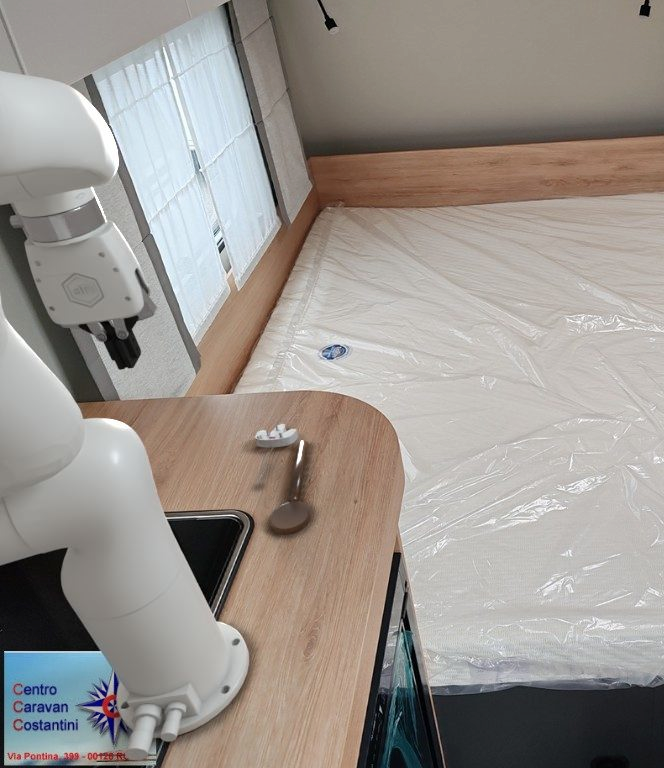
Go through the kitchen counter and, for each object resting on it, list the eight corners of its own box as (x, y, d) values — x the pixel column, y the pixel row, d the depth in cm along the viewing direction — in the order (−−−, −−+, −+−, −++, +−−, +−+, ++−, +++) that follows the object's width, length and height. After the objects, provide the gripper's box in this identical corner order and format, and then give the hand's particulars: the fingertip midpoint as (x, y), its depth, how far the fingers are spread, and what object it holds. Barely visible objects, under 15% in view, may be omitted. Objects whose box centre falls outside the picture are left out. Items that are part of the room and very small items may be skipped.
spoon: (309, 531, 92) (306, 523, 91) (269, 537, 92) (266, 529, 91) (322, 443, 106) (319, 435, 105) (287, 448, 106) (285, 440, 105)
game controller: (298, 426, 110) (293, 412, 108) (302, 477, 100) (297, 462, 99) (258, 435, 108) (253, 421, 107) (258, 487, 99) (253, 473, 98)
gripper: (-23, 243, 77) (55, 389, 88) (125, 224, 78) (185, 371, 88) (9, 215, 83) (78, 355, 94) (145, 198, 84) (199, 338, 94)
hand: (129, 362), depth 91 cm, fingers closed
